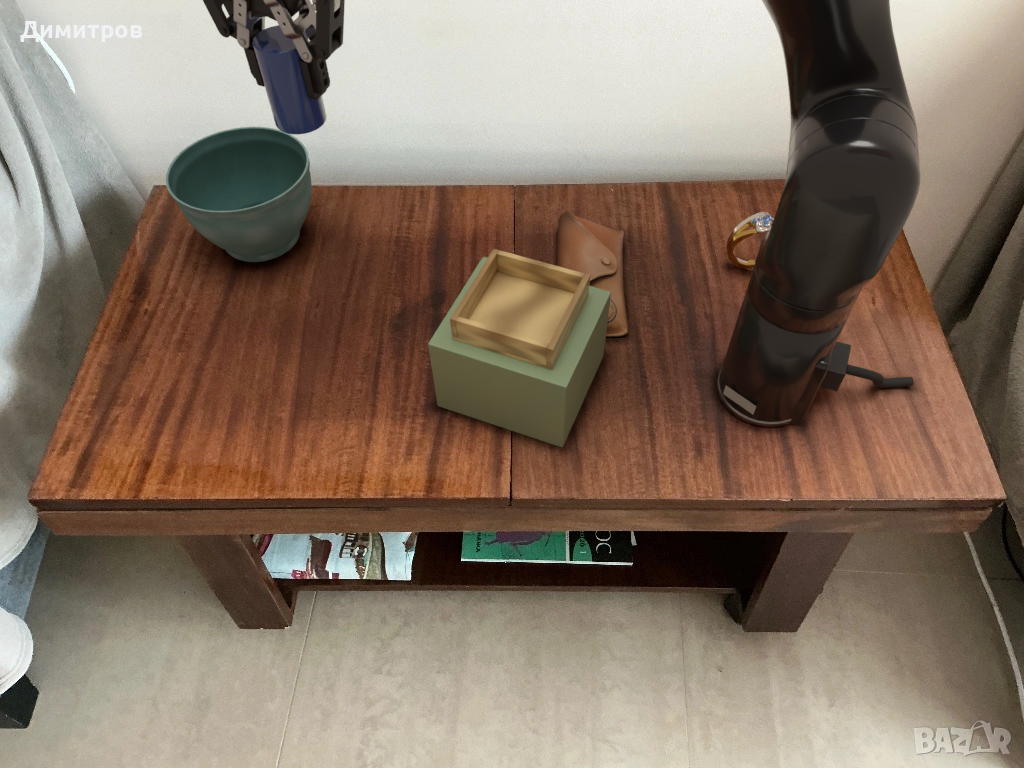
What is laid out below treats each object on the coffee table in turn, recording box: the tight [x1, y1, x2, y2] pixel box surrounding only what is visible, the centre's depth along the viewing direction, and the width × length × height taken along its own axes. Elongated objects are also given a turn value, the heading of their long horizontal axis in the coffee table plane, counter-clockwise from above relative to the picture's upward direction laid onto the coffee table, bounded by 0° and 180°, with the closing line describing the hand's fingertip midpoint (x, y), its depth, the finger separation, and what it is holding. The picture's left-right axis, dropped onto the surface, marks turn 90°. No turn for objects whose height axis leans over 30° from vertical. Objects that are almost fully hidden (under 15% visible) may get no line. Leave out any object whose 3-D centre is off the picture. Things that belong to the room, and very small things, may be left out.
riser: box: [427, 256, 611, 448], centre depth 79 cm, size 14×13×10 cm
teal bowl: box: [165, 126, 313, 263], centre depth 94 cm, size 16×16×11 cm
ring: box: [726, 211, 774, 272], centre depth 90 cm, size 7×3×8 cm, turn 86°
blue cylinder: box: [252, 24, 327, 135], centre depth 70 cm, size 5×5×8 cm
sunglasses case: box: [556, 210, 629, 338], centre depth 91 cm, size 18×7×7 cm
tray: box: [450, 248, 590, 370], centre depth 74 cm, size 10×10×3 cm
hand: (293, 87), depth 71 cm, fingers closed on blue cylinder, 4 cm apart
